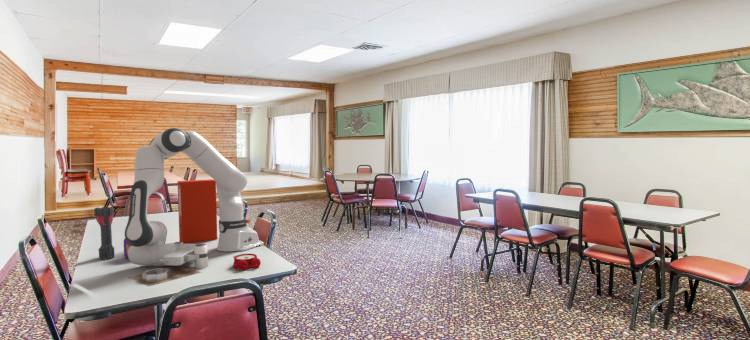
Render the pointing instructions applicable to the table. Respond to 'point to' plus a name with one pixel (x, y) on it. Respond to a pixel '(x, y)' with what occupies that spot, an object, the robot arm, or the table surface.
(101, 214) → the flashlight
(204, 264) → the white lens
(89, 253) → the table surface
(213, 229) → the file binder
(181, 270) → the walnut mount plate
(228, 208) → the robot arm
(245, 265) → the alarm clock
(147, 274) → the ring
